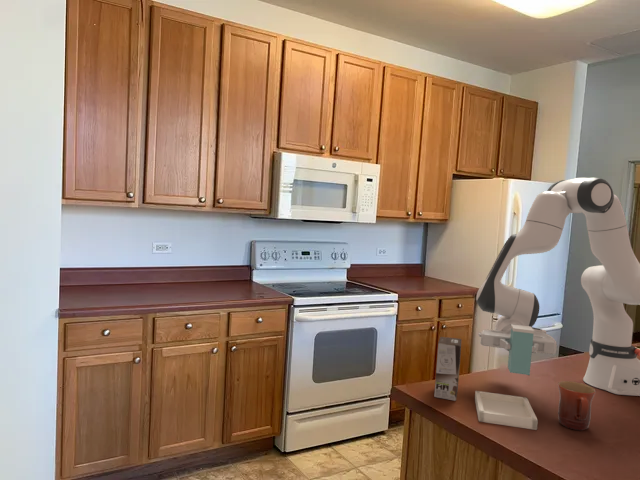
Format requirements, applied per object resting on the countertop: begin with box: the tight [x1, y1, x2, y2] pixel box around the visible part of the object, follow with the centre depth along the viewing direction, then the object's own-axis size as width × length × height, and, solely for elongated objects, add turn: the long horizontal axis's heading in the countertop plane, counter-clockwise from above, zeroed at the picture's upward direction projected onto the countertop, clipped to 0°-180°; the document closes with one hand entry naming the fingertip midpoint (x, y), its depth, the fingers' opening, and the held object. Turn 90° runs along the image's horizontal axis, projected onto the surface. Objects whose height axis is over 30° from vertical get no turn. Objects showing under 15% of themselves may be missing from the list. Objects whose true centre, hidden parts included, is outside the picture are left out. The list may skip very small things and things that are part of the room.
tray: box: [474, 390, 539, 431], centre depth 132 cm, size 14×16×2 cm
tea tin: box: [507, 324, 534, 376], centre depth 134 cm, size 5×5×12 cm
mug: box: [557, 380, 597, 431], centre depth 125 cm, size 12×9×10 cm
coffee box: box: [433, 336, 462, 402], centre depth 144 cm, size 9×6×16 cm
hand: (521, 348), depth 133 cm, fingers closed on tea tin, 5 cm apart
